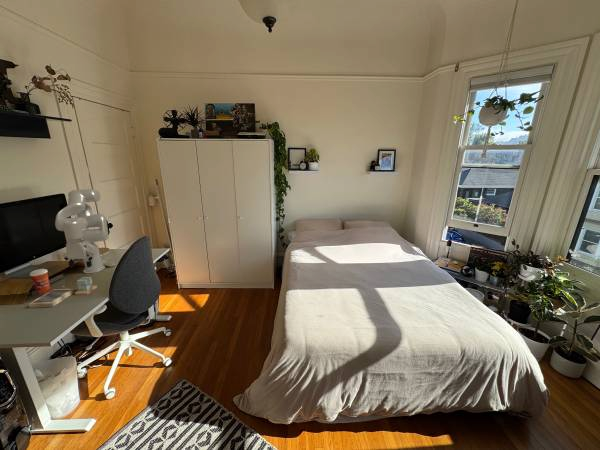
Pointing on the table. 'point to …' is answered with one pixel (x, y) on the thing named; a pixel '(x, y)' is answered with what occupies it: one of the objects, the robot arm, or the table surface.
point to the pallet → (85, 286)
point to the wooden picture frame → (51, 298)
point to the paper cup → (40, 280)
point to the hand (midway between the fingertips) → (81, 266)
